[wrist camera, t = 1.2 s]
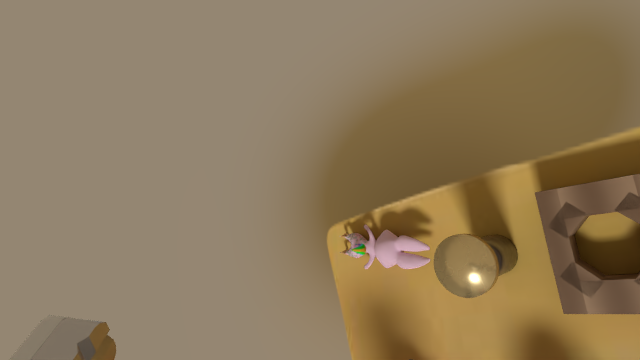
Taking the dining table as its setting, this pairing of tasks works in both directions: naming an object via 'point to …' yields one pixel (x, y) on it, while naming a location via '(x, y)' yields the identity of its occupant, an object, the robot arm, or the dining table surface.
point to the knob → (473, 263)
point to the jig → (570, 271)
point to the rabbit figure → (387, 249)
